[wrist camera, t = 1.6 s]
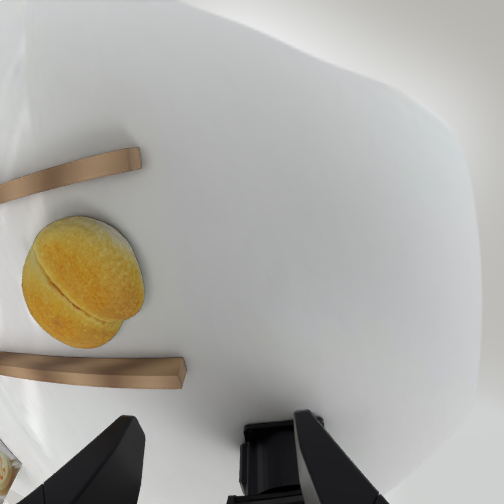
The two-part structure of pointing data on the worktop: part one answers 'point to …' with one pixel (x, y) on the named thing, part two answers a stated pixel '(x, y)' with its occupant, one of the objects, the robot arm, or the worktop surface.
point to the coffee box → (7, 470)
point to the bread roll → (81, 281)
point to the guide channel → (74, 368)
